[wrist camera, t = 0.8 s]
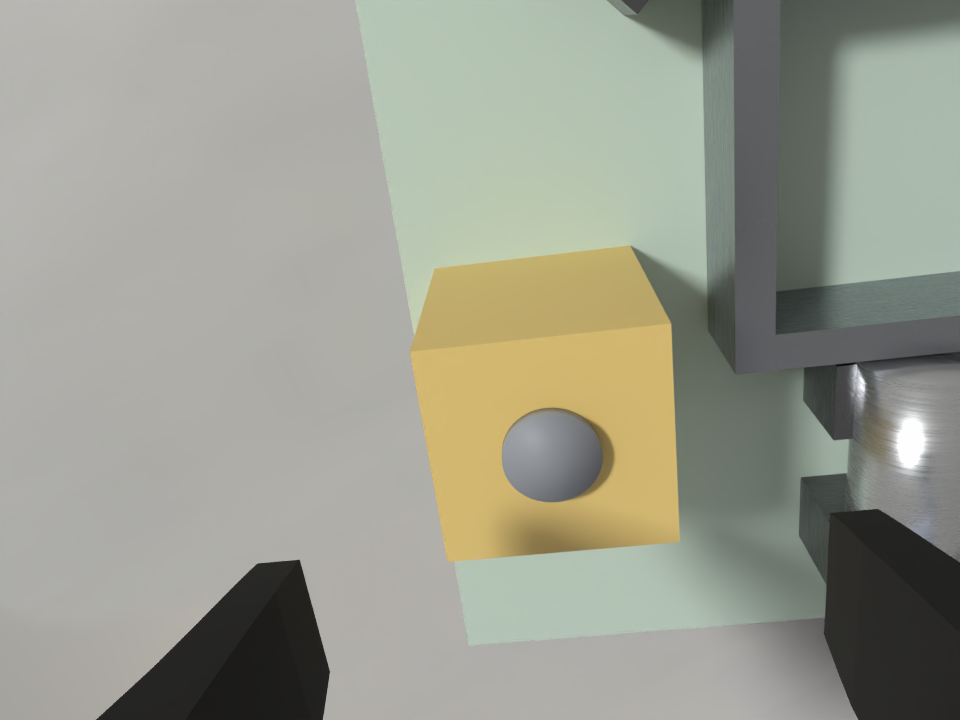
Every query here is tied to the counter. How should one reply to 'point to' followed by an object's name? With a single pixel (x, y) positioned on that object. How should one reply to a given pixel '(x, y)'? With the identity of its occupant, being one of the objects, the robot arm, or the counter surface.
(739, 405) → the mat
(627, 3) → the shaft
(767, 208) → the frame
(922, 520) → the shaft
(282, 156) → the counter surface
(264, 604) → the robot arm
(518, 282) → the yellow block
